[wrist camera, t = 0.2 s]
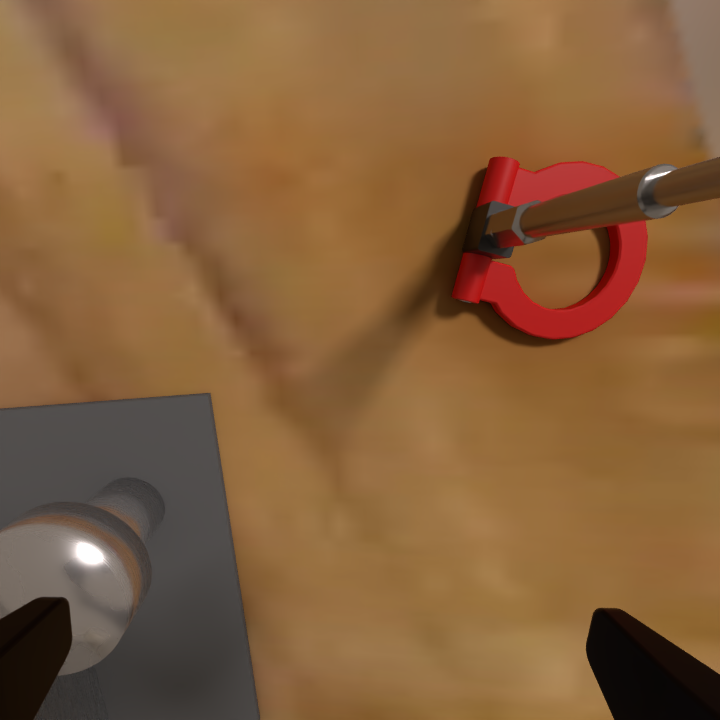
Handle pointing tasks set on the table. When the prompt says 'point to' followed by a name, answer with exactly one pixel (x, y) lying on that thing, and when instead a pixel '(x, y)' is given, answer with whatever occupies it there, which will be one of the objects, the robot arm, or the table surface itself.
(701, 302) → the table surface
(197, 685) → the mat
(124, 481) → the silver door knob
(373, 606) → the table surface
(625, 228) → the tow hook
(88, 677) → the hitch block
